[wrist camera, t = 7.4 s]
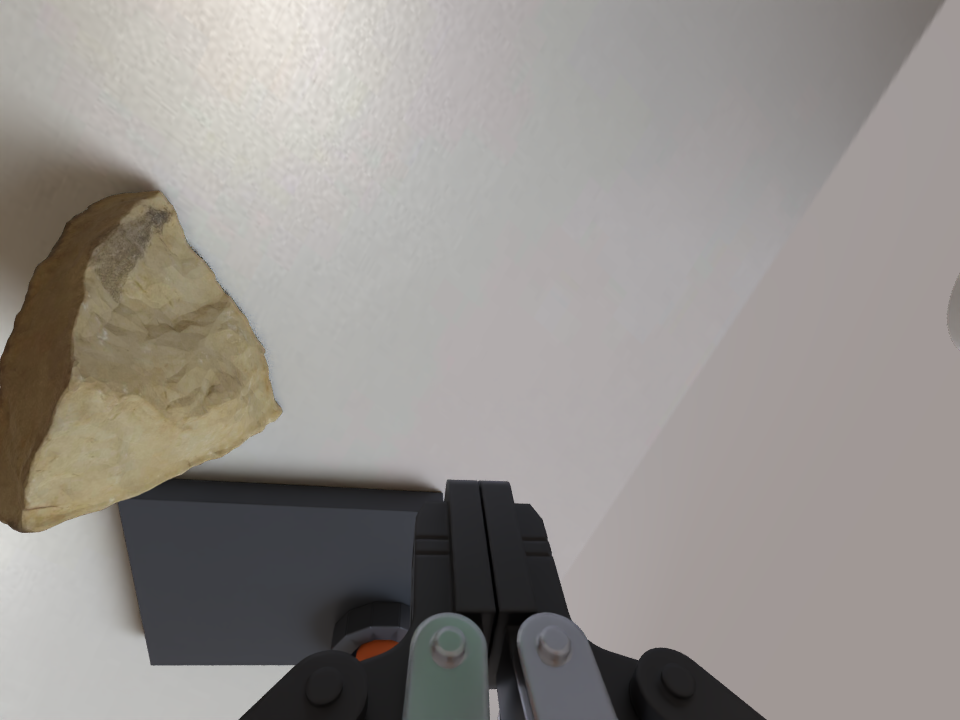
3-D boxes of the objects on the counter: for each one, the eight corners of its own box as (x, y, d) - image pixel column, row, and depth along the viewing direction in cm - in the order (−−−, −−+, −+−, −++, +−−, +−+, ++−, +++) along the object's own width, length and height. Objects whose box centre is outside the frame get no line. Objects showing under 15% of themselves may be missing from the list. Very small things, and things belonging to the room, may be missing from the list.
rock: (-24, 142, 17) (-37, 408, 20) (8, 202, 12) (-16, 552, 14) (286, 215, 25) (246, 395, 28) (385, 269, 20) (324, 484, 23)
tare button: (409, 637, 30) (409, 663, 28) (405, 669, 31) (404, 696, 29) (357, 637, 29) (354, 663, 28) (354, 669, 30) (351, 696, 29)
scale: (450, 492, 29) (453, 535, 26) (426, 641, 34) (426, 690, 31) (132, 476, 26) (97, 522, 23) (162, 640, 32) (137, 693, 29)
